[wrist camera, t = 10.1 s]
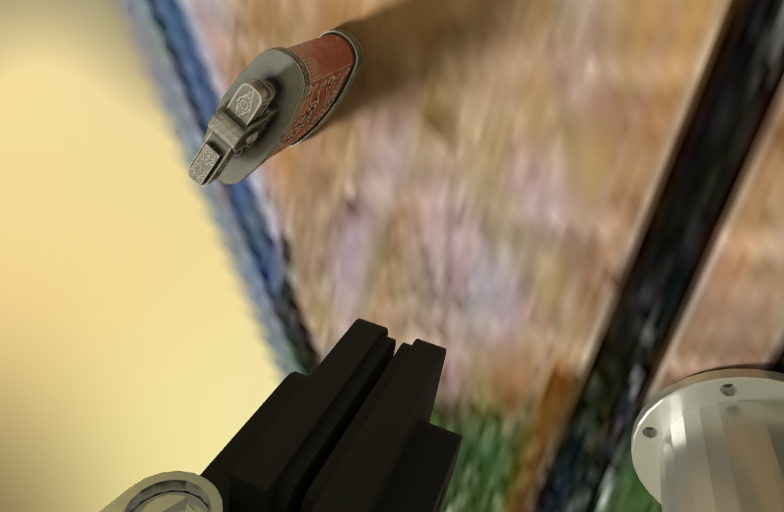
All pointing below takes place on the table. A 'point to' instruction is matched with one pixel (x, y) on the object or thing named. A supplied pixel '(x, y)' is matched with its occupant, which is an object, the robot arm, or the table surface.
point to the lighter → (276, 105)
